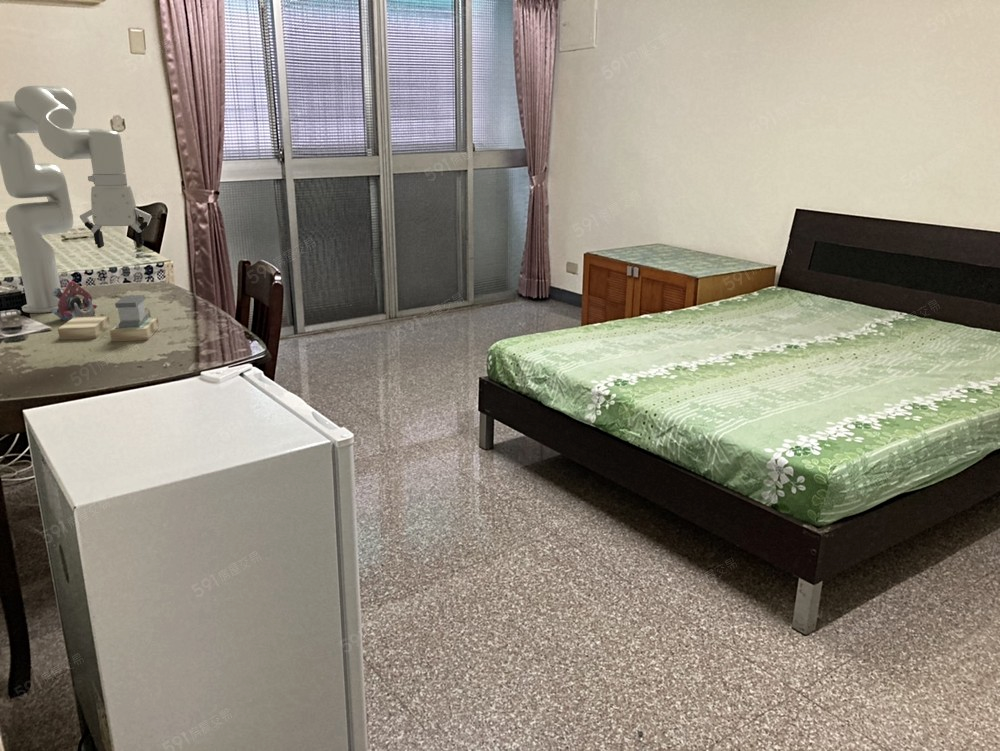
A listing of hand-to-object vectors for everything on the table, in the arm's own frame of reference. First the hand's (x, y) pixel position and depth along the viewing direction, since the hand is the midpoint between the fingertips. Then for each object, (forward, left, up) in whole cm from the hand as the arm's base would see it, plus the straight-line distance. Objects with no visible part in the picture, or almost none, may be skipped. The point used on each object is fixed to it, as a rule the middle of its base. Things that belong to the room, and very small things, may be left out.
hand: (120, 247), depth 201 cm
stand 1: (0, -12, -23) cm, 26 cm away
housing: (+3, +1, -20) cm, 20 cm away
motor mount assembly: (-18, -20, -24) cm, 36 cm away
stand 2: (+4, +2, -23) cm, 23 cm away
